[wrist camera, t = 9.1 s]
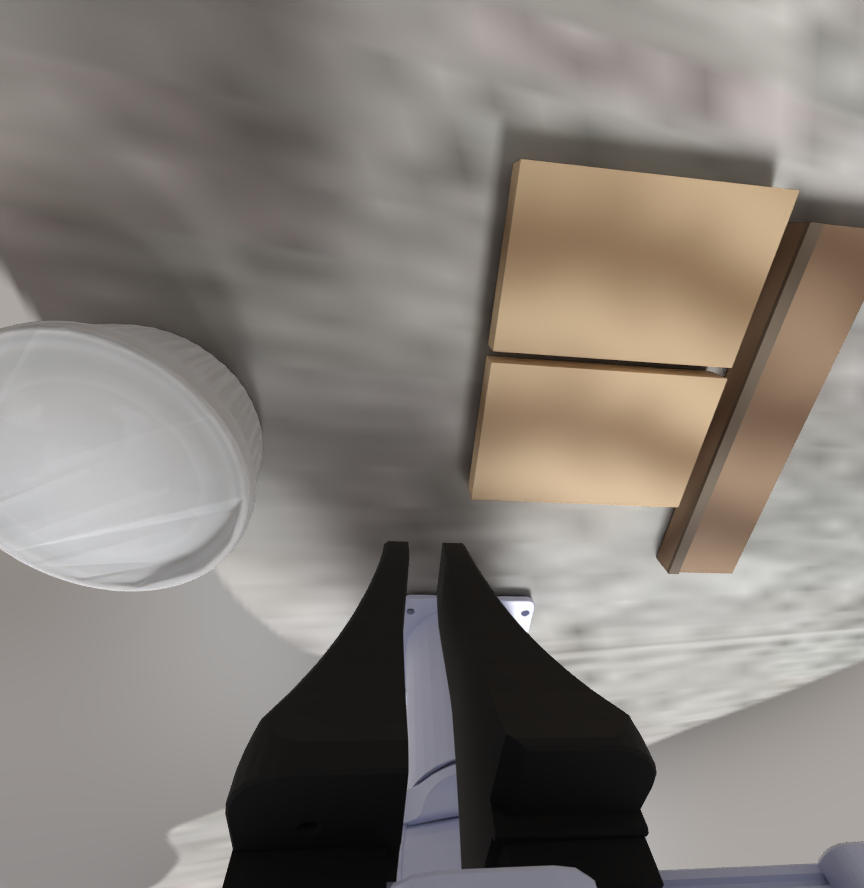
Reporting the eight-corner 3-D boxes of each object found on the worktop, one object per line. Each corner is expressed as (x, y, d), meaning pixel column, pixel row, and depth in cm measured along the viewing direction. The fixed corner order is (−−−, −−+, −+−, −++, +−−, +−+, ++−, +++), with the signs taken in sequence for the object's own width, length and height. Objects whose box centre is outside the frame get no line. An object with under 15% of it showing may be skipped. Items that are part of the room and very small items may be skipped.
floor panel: (718, 559, 27) (733, 575, 25) (656, 557, 26) (668, 573, 25) (868, 231, 19) (900, 231, 18) (784, 222, 19) (811, 222, 17)
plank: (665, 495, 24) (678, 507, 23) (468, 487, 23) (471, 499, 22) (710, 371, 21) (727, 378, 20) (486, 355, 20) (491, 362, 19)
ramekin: (199, 556, 24) (149, 635, 20) (-13, 428, 20) (-138, 486, 16) (331, 423, 21) (310, 476, 17) (113, 243, 18) (6, 246, 13)
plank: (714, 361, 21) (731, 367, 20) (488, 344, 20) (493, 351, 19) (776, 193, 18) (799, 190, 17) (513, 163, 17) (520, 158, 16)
